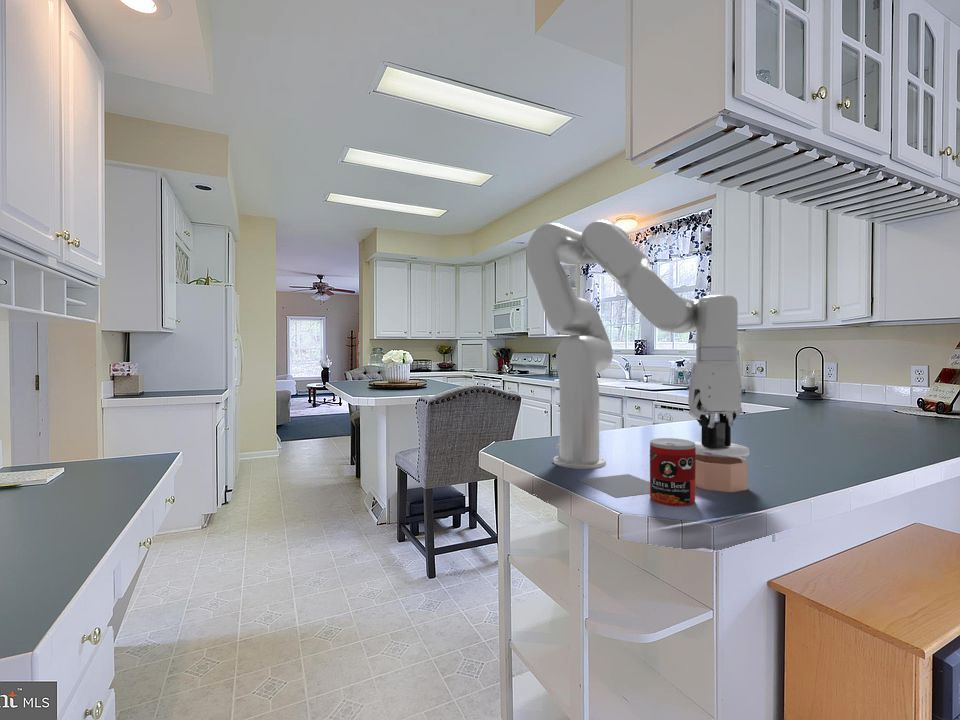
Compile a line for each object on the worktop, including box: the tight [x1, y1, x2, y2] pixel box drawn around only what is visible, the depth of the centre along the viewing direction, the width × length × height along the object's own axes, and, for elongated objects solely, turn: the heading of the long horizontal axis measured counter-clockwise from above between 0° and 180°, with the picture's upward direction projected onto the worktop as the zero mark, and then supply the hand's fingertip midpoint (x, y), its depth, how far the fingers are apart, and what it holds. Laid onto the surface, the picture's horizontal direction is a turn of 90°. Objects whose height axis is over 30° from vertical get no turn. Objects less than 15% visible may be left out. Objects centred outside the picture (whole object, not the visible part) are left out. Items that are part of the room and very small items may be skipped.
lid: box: [693, 420, 750, 458], centre depth 95 cm, size 12×12×6 cm
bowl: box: [695, 454, 749, 493], centre depth 95 cm, size 11×11×6 cm
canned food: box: [649, 437, 696, 507], centre depth 85 cm, size 8×8×11 cm
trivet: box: [577, 473, 650, 499], centre depth 94 cm, size 13×13×1 cm
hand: (715, 445), depth 95 cm, fingers closed on lid, 3 cm apart
